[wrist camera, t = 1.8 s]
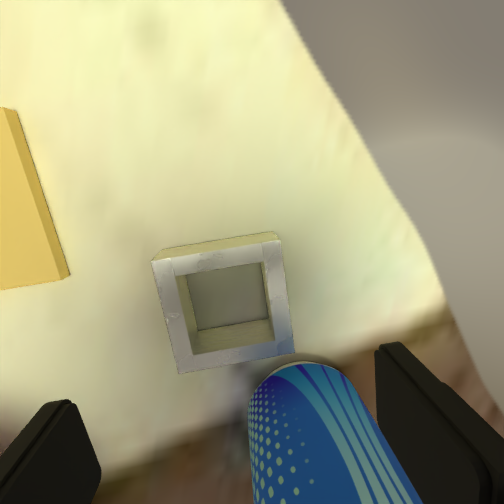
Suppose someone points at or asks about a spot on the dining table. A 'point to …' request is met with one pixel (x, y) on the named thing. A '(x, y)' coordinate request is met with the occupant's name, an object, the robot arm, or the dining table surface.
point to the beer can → (319, 443)
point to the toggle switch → (24, 215)
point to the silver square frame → (232, 336)
